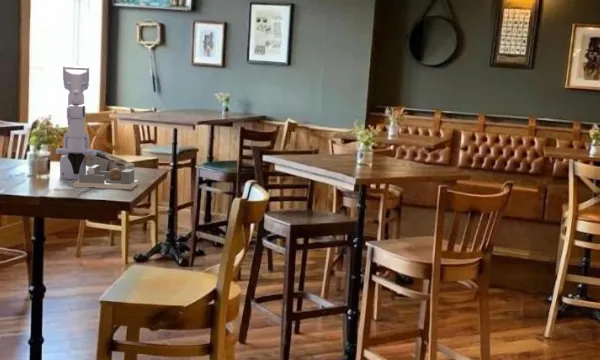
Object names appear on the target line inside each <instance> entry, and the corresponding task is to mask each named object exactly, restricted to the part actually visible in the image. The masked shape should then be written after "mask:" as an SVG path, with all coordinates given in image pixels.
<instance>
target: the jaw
mask: <svg viewBox="0 0 600 360" xmlns="http://www.w3.org/2000/svg"><path fill="white" fill-rule="evenodd" d="M88 171H89V175H100V165H93V166H91V167H88Z"/></svg>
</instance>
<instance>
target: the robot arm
mask: <svg viewBox="0 0 600 360" xmlns="http://www.w3.org/2000/svg"><path fill="white" fill-rule="evenodd" d="M62 81H63V87H64V89H65V90H67V91H68V92H69V93H68V95H67V106H66V119H67V120H66V121H67V132H65V133H64V134H63V140H62V148H61V147H57V148H56V149H55V154H56V155H60V154H61V156H60V159H59V179H60V180H61V179H63V180H65V179H66V180H79V174H86V175H87V166H86V165H85V164H86V161H87V156H88V155H96V149H91V148H90V135H89V134H88V133H87V132H86V131H85V120H86V106H85V105H86V104H85V95H84V92H85V91H87V90H88V89H89V86H90V85H89V83H90V82H89V81H90V67H89V66H88V65H87V66H84V65H83V66H82V65H81V66H79V65H63V66H62Z"/></svg>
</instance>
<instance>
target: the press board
mask: <svg viewBox="0 0 600 360" xmlns="http://www.w3.org/2000/svg"><path fill="white" fill-rule="evenodd" d="M72 185H73V188H89V187H95V188H94V189H113V190H114V189H116V190H117V189H118V190H119V189H120V190H132V189H133V188H135V187H136V186H138V185H139V180H138V179H135V169H134V168H133V169H125V170H123V171H122V172H121V180H111V179H110V178H109V172H108V171H100V175H89V170H86V174H79V179H77V180H76V181H73V183H72Z"/></svg>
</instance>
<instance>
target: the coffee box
mask: <svg viewBox="0 0 600 360" xmlns="http://www.w3.org/2000/svg"><path fill="white" fill-rule="evenodd" d="M95 150H96V155H87V156H86V164H85V165H86V167H88V168H89V167H91V166H93V165H100V171H108V172H110V171H111V170H112V169H114V168H118V169H120V170H121V171H123V170H125V169H134V168H135V163H132V162H130V161H128V160H126V159H123V158H120V157H119V156H116V155H113V154H111V153H109V152H106V151H104V150H102V149H99V148H98V149H95Z"/></svg>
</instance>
